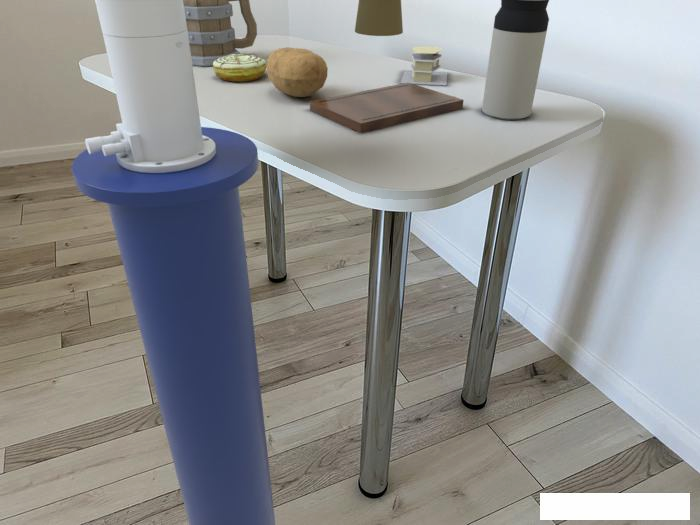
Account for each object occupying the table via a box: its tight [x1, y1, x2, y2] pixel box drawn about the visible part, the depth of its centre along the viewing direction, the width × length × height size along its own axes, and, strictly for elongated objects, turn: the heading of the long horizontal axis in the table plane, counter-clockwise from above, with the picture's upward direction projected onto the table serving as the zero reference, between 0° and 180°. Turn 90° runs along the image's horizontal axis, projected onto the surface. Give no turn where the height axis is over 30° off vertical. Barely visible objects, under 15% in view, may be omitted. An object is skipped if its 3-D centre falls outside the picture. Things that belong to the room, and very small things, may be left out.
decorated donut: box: [212, 53, 267, 83], centre depth 108 cm, size 10×11×4 cm
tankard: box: [183, 0, 258, 67], centre depth 119 cm, size 20×13×15 cm, turn 114°
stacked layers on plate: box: [400, 46, 448, 86], centre depth 108 cm, size 10×9×6 cm
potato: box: [266, 47, 329, 98], centre depth 96 cm, size 10×14×8 cm
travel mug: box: [481, 0, 550, 121], centre depth 86 cm, size 8×8×18 cm
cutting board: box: [309, 82, 465, 134], centre depth 91 cm, size 22×14×2 cm, turn 127°
